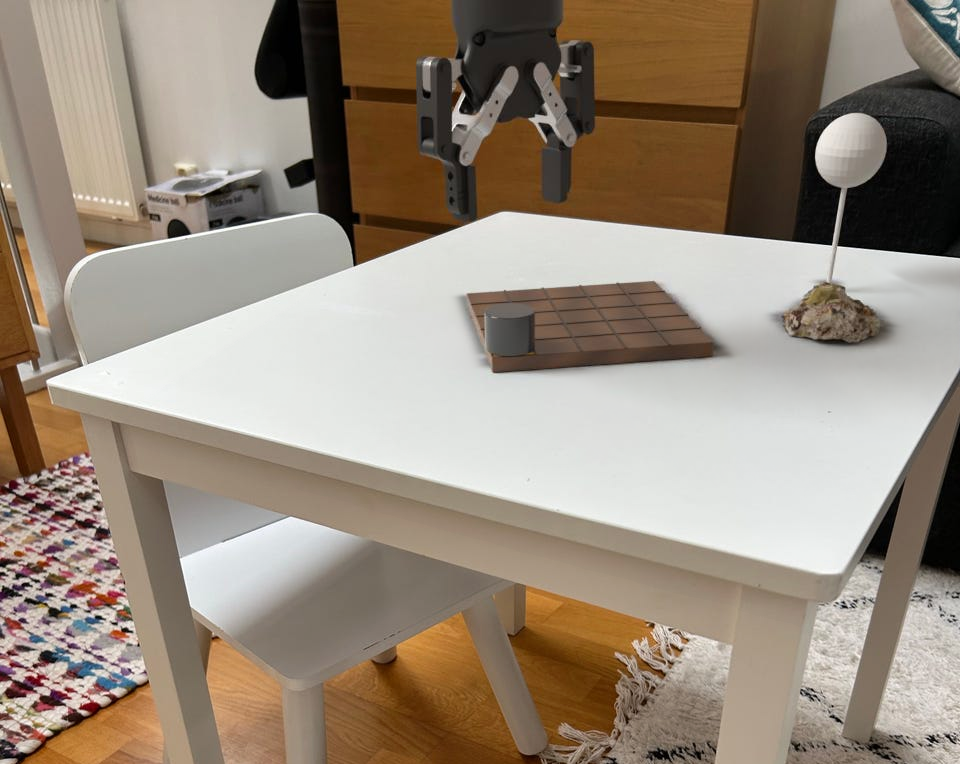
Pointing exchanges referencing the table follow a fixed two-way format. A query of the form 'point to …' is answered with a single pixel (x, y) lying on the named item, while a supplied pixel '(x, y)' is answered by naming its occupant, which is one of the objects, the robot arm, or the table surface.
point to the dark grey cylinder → (509, 329)
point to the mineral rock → (831, 316)
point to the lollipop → (849, 159)
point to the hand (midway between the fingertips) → (511, 210)
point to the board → (596, 326)
